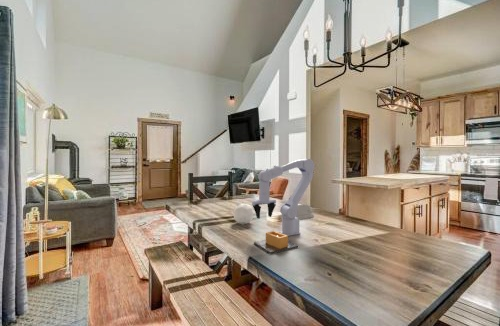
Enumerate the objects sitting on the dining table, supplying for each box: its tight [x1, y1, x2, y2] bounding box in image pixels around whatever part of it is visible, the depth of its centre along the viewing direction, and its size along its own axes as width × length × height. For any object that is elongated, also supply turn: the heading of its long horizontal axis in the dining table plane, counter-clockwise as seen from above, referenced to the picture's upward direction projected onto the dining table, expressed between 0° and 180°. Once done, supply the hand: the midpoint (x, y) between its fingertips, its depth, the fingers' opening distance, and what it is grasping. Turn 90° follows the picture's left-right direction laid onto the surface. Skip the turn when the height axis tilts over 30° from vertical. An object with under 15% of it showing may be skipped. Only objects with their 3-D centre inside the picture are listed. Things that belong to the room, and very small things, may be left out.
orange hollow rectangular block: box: [265, 230, 289, 249], centre depth 123 cm, size 5×10×5 cm, turn 37°
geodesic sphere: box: [232, 202, 255, 226], centre depth 164 cm, size 14×14×14 cm
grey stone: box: [296, 204, 315, 220], centre depth 179 cm, size 17×5×10 cm, turn 119°
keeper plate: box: [253, 236, 299, 255], centre depth 124 cm, size 16×15×6 cm
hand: (264, 217), depth 139 cm, fingers open, 7 cm apart
